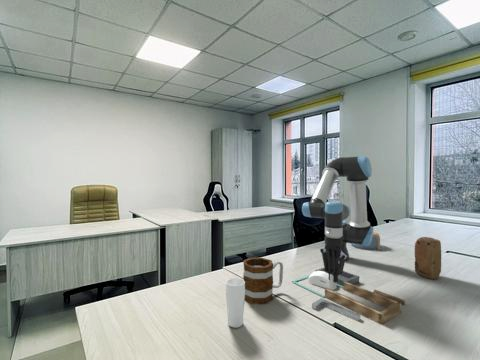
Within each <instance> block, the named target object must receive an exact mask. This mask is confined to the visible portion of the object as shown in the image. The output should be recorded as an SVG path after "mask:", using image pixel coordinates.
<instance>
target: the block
mask: <svg viewBox="0 0 480 360" xmlns="http://www.w3.org/2000/svg"><path fill="white" fill-rule="evenodd" d="M441 243H442V242H441V240H439V239H435V238H432V237H428V236H422V237H419V238H417V239H416V241H415V242H414V272H415V273H416V274H418V275H420V276H422V277H424V278H427V279H429V280H437V279H439V277H440V275H441V272H442V244H441Z"/></svg>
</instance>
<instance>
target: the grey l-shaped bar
mask: <svg viewBox="0 0 480 360" xmlns="http://www.w3.org/2000/svg"><path fill="white" fill-rule="evenodd" d="M322 305H323V306H322ZM325 306H326V307H325ZM319 307H320V308H322V307H325V308H327V307H328V308H327V309H329V308H331V309H330V310H332V309H333V311H334V310H336V311H338V312H337V313H339V312H340V313H339V314H341V313H343V314H345V315H344V316H346V315H347V316H346V317H348V316H350V317H352V318H354V319H353V320H355V319H356V320H355V321H357V320H359V319H360V320H361V314H359V313H357V312H355V311H353V310H350V309H348V308H346V307H344V306H342V305H340V304H337V303H335V302H333V301H332V302H331V301H329V300H328V299H324V298H323V297H321V298H319V299H317V300H315V301H314V302H312V303H311V309H313V308H314V310H315V309H316V310H318V309H320V308H319ZM317 308H318V309H317ZM336 311H335V312H336ZM343 314H342V315H343ZM350 317H349V318H350ZM352 318H351V319H352ZM360 320H359V321H360Z"/></svg>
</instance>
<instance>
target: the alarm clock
mask: <svg viewBox="0 0 480 360" xmlns="http://www.w3.org/2000/svg"><path fill="white" fill-rule="evenodd" d="M349 244H351V243H349ZM351 247H352V248H356V249H360V250H366V251H367V250H368V251H372V250H373V251H374V250H380V249H381V235H380V234H379V233H378V232H376V231H374V230H373V237H372V241H371V244H370V245H369V246H365V245H357V244H351Z"/></svg>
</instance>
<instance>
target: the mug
mask: <svg viewBox="0 0 480 360" xmlns="http://www.w3.org/2000/svg"><path fill="white" fill-rule="evenodd" d="M242 261H243V276H242V277H243V278H242V280H244V281H245V301H244V302H248V303H250V304H252V305H266V304H269V303H270V302H272V301H273V300H274V293H273V289H278V288H280V287H281V286H282V284H283V277H284V276H283V275H284V266H283V265H284V264H283V262H281V261H279V260H276V261H274V262H273V261H272V260H271V259H268V258H264V257H250V258H249V257H248V258H247V259H244V260H242ZM278 265H279V272H278V274H279V276H278V282H277V284H274V276H273V274H274V273H273V272H274V271H273V270H274V269H275V268H276V267H277V266H278Z"/></svg>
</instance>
